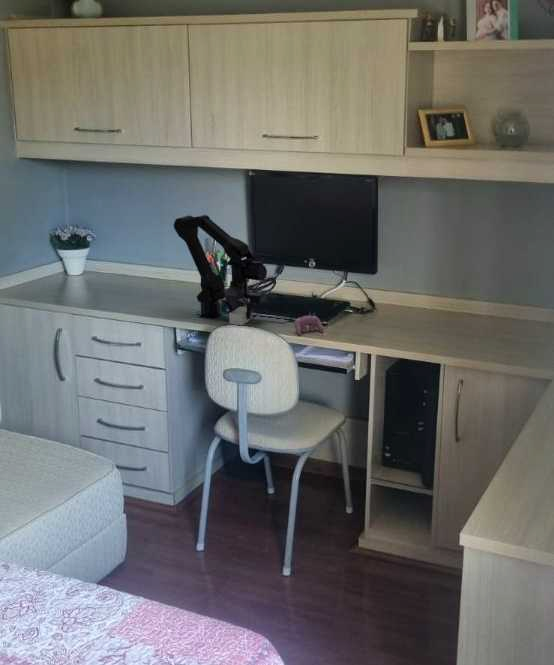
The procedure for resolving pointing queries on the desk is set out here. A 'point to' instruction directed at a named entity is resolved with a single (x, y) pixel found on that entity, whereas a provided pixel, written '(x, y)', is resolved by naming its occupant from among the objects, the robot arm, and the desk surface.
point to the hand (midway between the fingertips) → (241, 318)
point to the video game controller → (304, 320)
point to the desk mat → (270, 319)
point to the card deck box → (239, 316)
